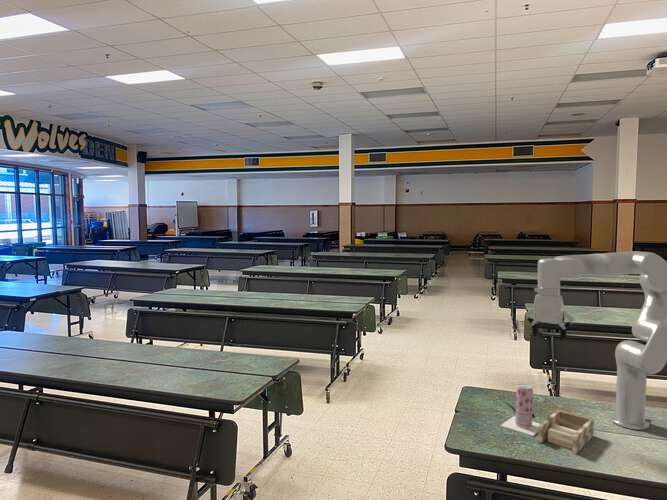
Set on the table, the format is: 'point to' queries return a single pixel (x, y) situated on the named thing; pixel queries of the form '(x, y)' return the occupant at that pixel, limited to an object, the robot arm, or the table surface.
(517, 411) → the beverage can
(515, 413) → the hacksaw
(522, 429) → the pad
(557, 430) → the offcut upper
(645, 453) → the table surface
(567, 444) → the offcut lower
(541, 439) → the frame
